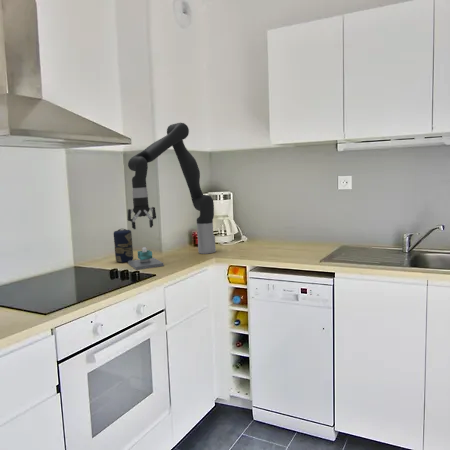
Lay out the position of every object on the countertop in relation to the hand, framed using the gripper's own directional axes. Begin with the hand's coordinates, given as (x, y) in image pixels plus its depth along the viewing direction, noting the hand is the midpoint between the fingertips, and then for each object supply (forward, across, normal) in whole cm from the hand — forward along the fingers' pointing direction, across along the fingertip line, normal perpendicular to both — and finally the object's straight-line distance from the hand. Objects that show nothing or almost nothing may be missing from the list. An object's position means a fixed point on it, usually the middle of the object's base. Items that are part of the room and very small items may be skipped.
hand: (142, 228), depth 216 cm
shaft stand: (+19, 0, 0) cm, 19 cm away
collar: (+16, 0, 0) cm, 16 cm away
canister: (+19, +7, -17) cm, 27 cm away
